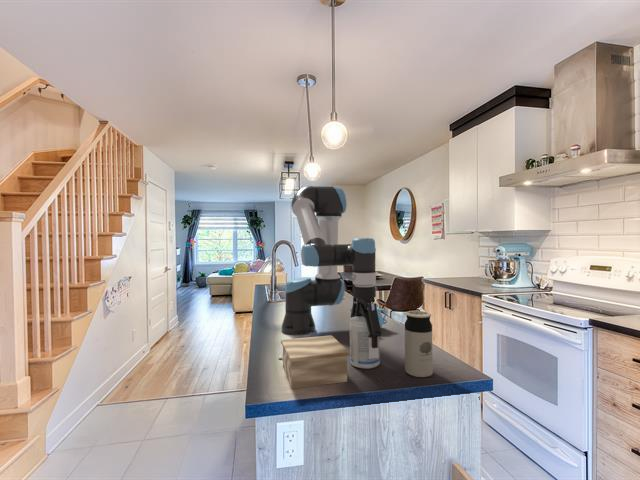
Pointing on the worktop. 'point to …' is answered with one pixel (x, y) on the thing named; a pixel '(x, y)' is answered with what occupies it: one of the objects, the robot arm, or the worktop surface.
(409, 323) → the travel mug
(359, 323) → the supplement tub
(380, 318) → the teapot
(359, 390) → the worktop surface
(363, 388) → the worktop surface
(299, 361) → the wooden block
